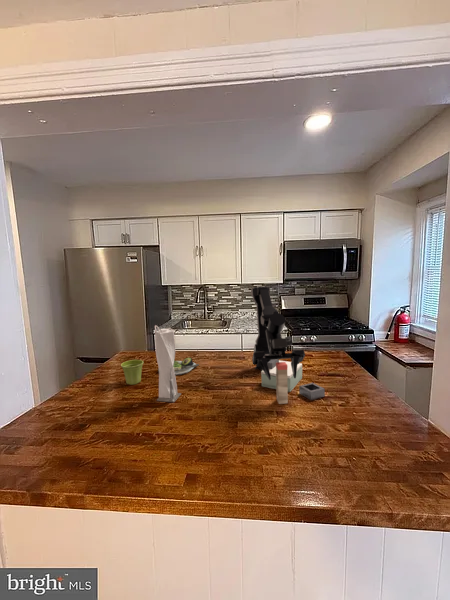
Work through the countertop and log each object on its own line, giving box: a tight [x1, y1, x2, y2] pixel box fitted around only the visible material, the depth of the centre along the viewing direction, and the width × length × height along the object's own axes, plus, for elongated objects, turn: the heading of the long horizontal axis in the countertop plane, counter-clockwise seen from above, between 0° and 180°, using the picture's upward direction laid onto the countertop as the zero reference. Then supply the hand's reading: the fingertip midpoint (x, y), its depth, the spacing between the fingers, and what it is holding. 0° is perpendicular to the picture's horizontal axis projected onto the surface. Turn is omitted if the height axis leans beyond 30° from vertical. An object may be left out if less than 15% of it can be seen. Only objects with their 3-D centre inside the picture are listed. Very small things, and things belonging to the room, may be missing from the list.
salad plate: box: [157, 357, 200, 376], centre depth 139 cm, size 19×18×5 cm
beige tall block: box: [275, 362, 289, 405], centre depth 102 cm, size 3×3×14 cm
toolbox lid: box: [260, 359, 303, 379], centre depth 119 cm, size 12×16×4 cm
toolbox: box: [260, 366, 303, 393], centre depth 120 cm, size 12×16×5 cm
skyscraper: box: [154, 324, 182, 403], centre depth 109 cm, size 8×8×28 cm
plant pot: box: [120, 359, 144, 386], centre depth 125 cm, size 9×9×9 cm
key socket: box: [298, 382, 326, 401], centre depth 107 cm, size 6×6×3 cm
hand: (282, 378), depth 100 cm, fingers open, 9 cm apart
